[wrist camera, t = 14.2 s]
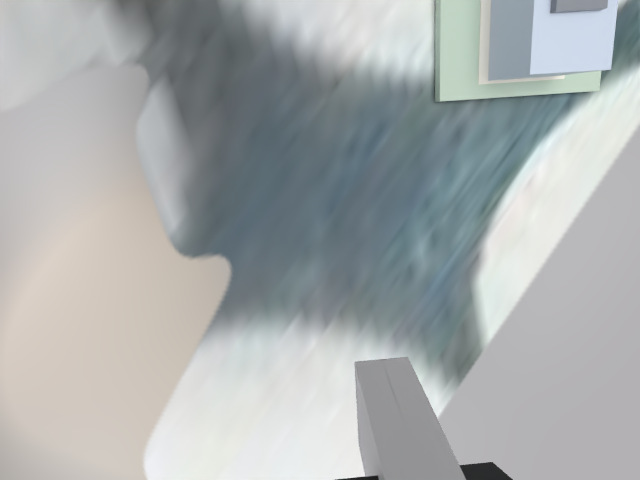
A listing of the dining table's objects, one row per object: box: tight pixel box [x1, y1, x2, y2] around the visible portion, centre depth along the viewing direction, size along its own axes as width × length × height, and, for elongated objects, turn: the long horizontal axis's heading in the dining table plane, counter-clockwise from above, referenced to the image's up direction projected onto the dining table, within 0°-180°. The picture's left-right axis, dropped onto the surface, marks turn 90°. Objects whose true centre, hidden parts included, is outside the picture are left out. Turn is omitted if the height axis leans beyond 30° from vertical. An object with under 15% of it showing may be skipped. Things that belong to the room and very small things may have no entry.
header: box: [435, 0, 601, 102], centre depth 31 cm, size 12×12×5 cm
